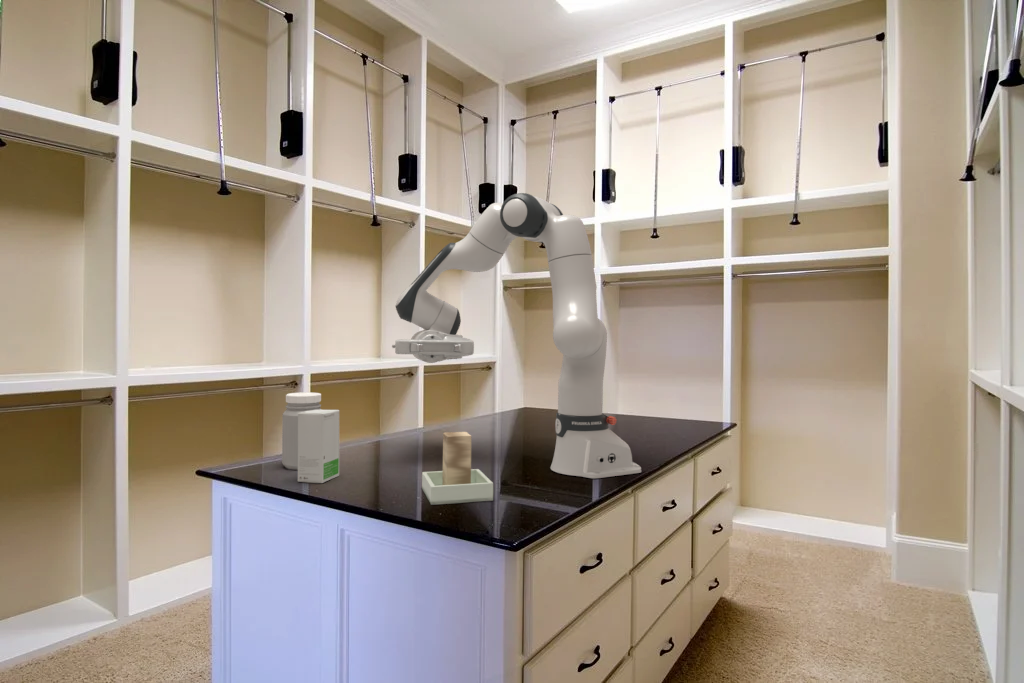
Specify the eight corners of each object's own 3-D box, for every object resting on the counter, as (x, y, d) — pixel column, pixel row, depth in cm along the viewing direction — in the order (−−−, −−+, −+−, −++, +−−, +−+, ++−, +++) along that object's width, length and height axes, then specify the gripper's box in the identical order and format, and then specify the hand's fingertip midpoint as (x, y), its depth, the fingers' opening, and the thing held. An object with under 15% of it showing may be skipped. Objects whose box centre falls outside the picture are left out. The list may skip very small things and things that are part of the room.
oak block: (465, 487, 125) (466, 431, 125) (470, 493, 120) (471, 435, 120) (442, 488, 124) (443, 432, 123) (446, 495, 119) (447, 436, 119)
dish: (478, 484, 130) (478, 468, 130) (493, 500, 118) (493, 483, 118) (421, 488, 126) (422, 472, 126) (431, 504, 114) (431, 487, 114)
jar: (291, 461, 150) (292, 391, 150) (329, 462, 150) (329, 392, 150) (275, 470, 140) (275, 395, 140) (315, 471, 140) (315, 396, 140)
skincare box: (321, 484, 128) (322, 413, 128) (294, 482, 129) (295, 412, 129) (340, 475, 136) (341, 409, 136) (314, 473, 138) (315, 407, 137)
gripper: (391, 334, 154) (396, 334, 141) (467, 335, 160) (479, 335, 146) (391, 358, 154) (396, 360, 141) (466, 358, 160) (478, 360, 147)
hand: (439, 347), depth 144 cm, fingers open, 8 cm apart
